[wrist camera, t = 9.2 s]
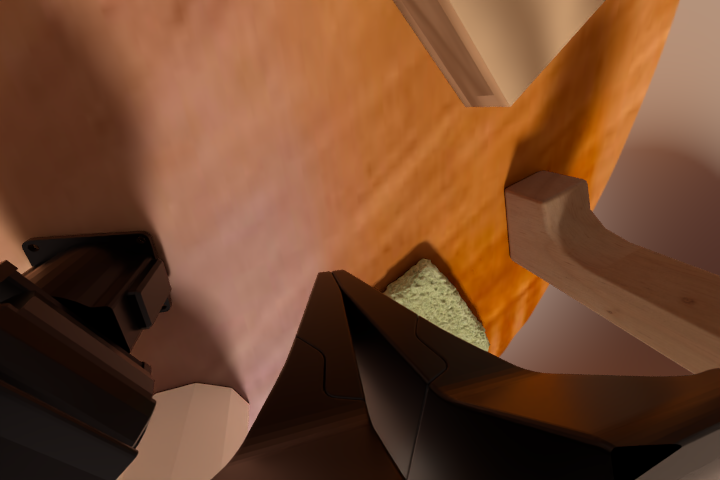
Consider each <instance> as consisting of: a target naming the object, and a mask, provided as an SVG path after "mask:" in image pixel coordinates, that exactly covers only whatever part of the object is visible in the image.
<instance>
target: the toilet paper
mask: <svg viewBox="0 0 720 480" xmlns="http://www.w3.org/2000/svg"><path fill="white" fill-rule="evenodd" d="M152 398H153V399H155V400H156V407H155V410H154V412H153V414H152V417H151V419H150V421H149V423H148V426H147V429H146V431H145V434H144V435H143V437H142V439H141V441H140V443H139V444H138V446H137V447H136V450H138V455H137V457H136V458H135V459H134V460H133V462H132V463H131V464H130V465H129V466H128V467H127V468H126V469H125V470H124V471H123V473H122V474H121V475H120V476H119V477H118V478H117V479H116V480H211V479H212V478H213V477H214V476H215V475H216V474H217V473H218V472H219V471H221V470H222V469H223V468H224V467H225V466H226V465H227V463H228V462H229V461H230V460H231V459H232V457H233V456H234V455H235V453H236V452H237V451H238V449H239V448H240V446H241V445H242V443H243V441H244V440H245V438H246V436H247V434H248V420H249V403H247V402H246V401H245V400H244V399H243V398H242V397H241V396H240V395H239V394H238V393H237V392H235V391H234V390H233V389H232V388H229V387H222V386H214V385H207V384H200V383H194V384H190V385H186V386H182V387H179V388H175V389H171V390H167V391H164V392H160V393H156V394H155V395H154V396H153V397H152Z"/></svg>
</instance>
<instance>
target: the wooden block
mask: <svg viewBox="0 0 720 480" xmlns="http://www.w3.org/2000/svg"><path fill="white" fill-rule="evenodd" d="M505 201H506V212H507V224H508V235H509V247H510V257H511V259H512V260H513V261H514V262H516V263H517V264H519V265H521V266H522V267H524V268H525V269H527V270H529V271H530V272H532V273H533V274H535V275H537V276H538V277H540V278H541V279H543V280H545V281H546V282H548V283H549V284H551V285H553V286H554V287H556V288H558V289H559V290H561V291H562V292H564V293H566V294H567V295H569V296H570V297H572V298H573V299H575V300H577V301H579V302H580V303H581V304H583V305H585V306H586V307H588V308H589V309H591V310H593V311H594V312H596V313H597V314H599V315H601V316H602V317H604V318H605V319H607V320H609V321H610V322H612V323H614V324H615V325H617V326H618V327H620V328H621V329H623V330H625V331H626V332H628V333H629V334H631V335H633V336H634V337H636V338H638V339H639V340H641V341H642V342H644V343H645V344H647V345H649V346H650V347H652V348H653V349H655V350H657V351H658V352H660V353H662V354H663V355H665V356H666V357H668V358H669V359H671V360H673V361H674V362H676V363H677V364H679V365H681V366H682V367H684V368H685V369H687V370H689V371H690V372H692V373H693V374H697V373H701V372H704V371H706V370H709V369H714V368H720V276H718V275H716V274H713V273H710V272H708V271H705V270H702V269H699V268H697V267H694V266H692V265H689V264H686V263H683V262H681V261H678V260H675V259H672V258H670V257H667V256H665V255H662V254H659V253H657V252H654V251H651V250H648V249H646V248H643V247H641V246H638V245H635V244H633V243H630V242H628V241H626V240H625V239H622V238H621V237H619V236H618V235H616V234H614V233H612V232H611V231H609V230H607V229H606V228H605V227H604V226H603V225H602V223H601V222H600V221H599V220H598V219H597V217H596V216H595V215H594V213H593V212H592V211H591V210H590V203H589V194H588V185H587V182H586V181H585V180H583V179H579V178H575V177H570V176H566V175H561V174H557V173H553V172H548V171H539V172H537V173H535V174H533V175H531V176H529V177H527V178H525V179H523V180H521V181H519V182H517V183H515V184H513V185H511V186H509V187H507V188H506V189H505Z"/></svg>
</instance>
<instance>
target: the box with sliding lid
mask: <svg viewBox="0 0 720 480" xmlns="http://www.w3.org/2000/svg"><path fill="white" fill-rule="evenodd" d="M393 1H394V3H395V4H396V6H397V7H398V8H399V10H400V11H401V13H402V14H403V16H404V17H405V19H406V20H407V22H408V23H409V25H410V26H411V28H412V29H413V31H414V32H415V33H416V35H417V36H418V38H419V39H420V41H421V42H422V44H423V45H424V47H425V48H426V50H427V51H428V53H429V54H430V56H431V57H432V58H433V60H434V61H435V63H436V64H437V66H438V67H439V69H440V70H441V72H442V73H443V75H444V76H445V78H446V79H447V81H448V82H449V83H450V85H451V86H452V88H453V89H454V91H455V92H456V94H457V95H458V97H459V98H460V100H461V101H462V103H463V104H464V106H465V107H511V106H512V104H513V103H514V102H515V101H516V100H517V99H518V98H519V97H520V96H521V94H522V93H523V92H524V91H525V90H526V89H527V88H528V87H529V85H530V84H531V83H532V82H533V81H534V80H535V79H536V78H537V76H538V75H539V74H540V73H541V72H542V71H543V70H544V69H545V67H546V66H547V65H548V64H549V63H550V62H551V61H552V60H553V59H554V57H555V56H556V55H557V54H558V53H559V52H560V51H561V50H562V48H563V47H564V46H565V45H566V44H567V43H568V42H569V41H570V39H571V38H572V37H573V36H574V35H575V34H576V33H577V32H578V30H579V29H580V28H581V27H582V26H583V25H584V24H585V23H586V22H587V20H588V19H589V18H590V17H591V16H592V15H593V14H594V13H595V11H596V10H597V9H598V8H599V7H600V6H601V5H602V4H603V2H604V1H605V0H393Z"/></svg>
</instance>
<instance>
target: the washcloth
mask: <svg viewBox="0 0 720 480" xmlns="http://www.w3.org/2000/svg"><path fill="white" fill-rule="evenodd" d="M383 294H385V295H386V296H388V297H390V298H391V299H393V300H395V301H396V302H398V303H400V304H401V305H403V306H405V307H406V308H408V309H409V310H411V311H413V312H414V313H416V314H418V316H421V317H423V318H425V319H426V320H428V321H429V322H431V323H433V324H435V325H436V326H438V327H440V328H442V329H443V330H445V331H447V332H449V333H451V334H453V335H455V336H457V337H459V338H461V339H462V340H464V341H466V342H468V343H470V344H472V345H474V346H476V347H478V348H480V349H482V350H485V351H487V352H488V348H489V346H490V344H489V341H488V339H487V337H486V334H485V333H484V332H485V328H484V327H483V326H482V323H480V322H479V321H477V318H476V317H475V316H474V315H473V314H472V311H470V309H469V308H468V306H467V305H466V303H465V302H464V300H463V299H462V298H461V297H460V294H459V292H458V291H457V290H456V288H455V287H454V286H453V285H452V284H451V283H450V282H449V280H448V279H447V278H446V277H445V276H444V275H443V273H440V272H439V270H438V268H437V267H436V266H435V265H433V264H432V263H431V260H428V259H421V260H420V261H419V262H418V263H417V264H416V265H414V266H412V267H411V269H410V270H408V271H407V272H406V273H405V274H404V275H403V276H402V277H400V278H398V279H397V281H394V282H392V283H391V284H390V285H388V287H387V290H386V291H385V292H383Z"/></svg>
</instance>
